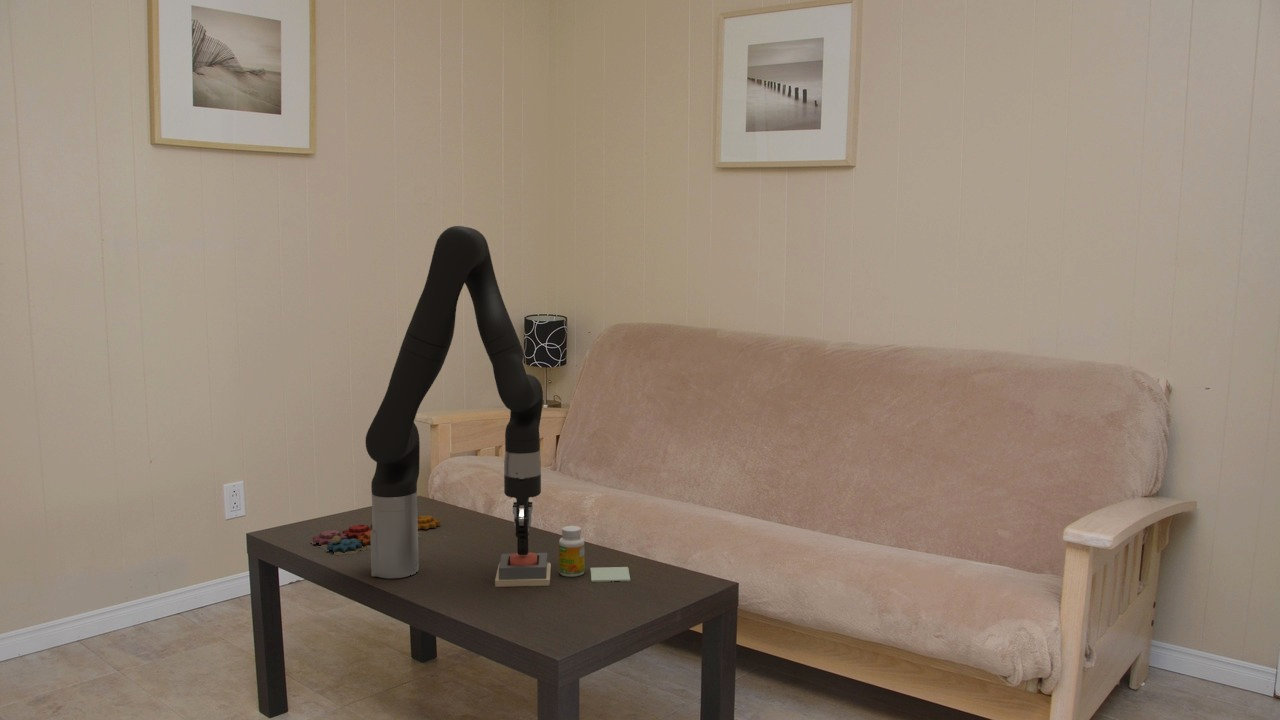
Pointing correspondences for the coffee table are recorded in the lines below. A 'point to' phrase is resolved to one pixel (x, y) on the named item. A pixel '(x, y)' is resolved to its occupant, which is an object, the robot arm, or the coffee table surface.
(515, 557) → the dome button
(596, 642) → the coffee table surface
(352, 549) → the gear puzzle
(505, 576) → the dome console
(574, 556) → the supplement bottle
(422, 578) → the coffee table surface
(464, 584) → the coffee table surface
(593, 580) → the mat
